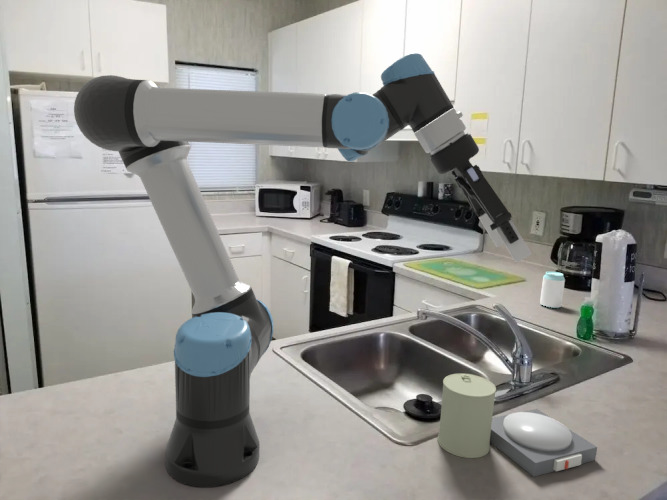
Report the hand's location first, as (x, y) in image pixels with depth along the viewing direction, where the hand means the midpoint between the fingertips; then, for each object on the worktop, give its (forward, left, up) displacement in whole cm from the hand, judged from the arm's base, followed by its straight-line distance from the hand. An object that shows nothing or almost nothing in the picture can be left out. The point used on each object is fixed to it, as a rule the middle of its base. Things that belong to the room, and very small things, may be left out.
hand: (512, 250), depth 87 cm
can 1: (-5, +1, -36) cm, 36 cm away
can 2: (+79, +63, -36) cm, 107 cm away
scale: (+7, -4, -36) cm, 37 cm away
